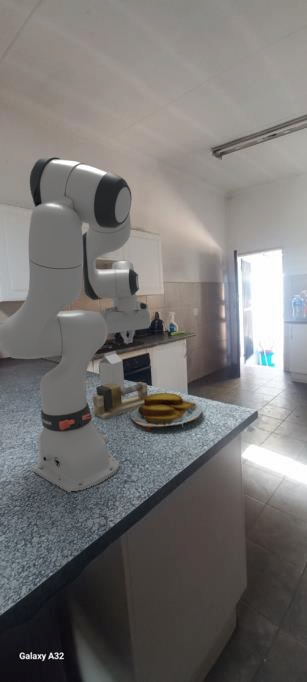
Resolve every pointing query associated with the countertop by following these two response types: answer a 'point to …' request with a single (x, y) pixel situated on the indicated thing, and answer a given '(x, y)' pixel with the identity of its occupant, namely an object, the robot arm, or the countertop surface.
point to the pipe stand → (126, 403)
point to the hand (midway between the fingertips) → (128, 342)
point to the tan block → (115, 393)
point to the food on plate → (165, 411)
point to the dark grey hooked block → (105, 396)
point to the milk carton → (111, 369)
